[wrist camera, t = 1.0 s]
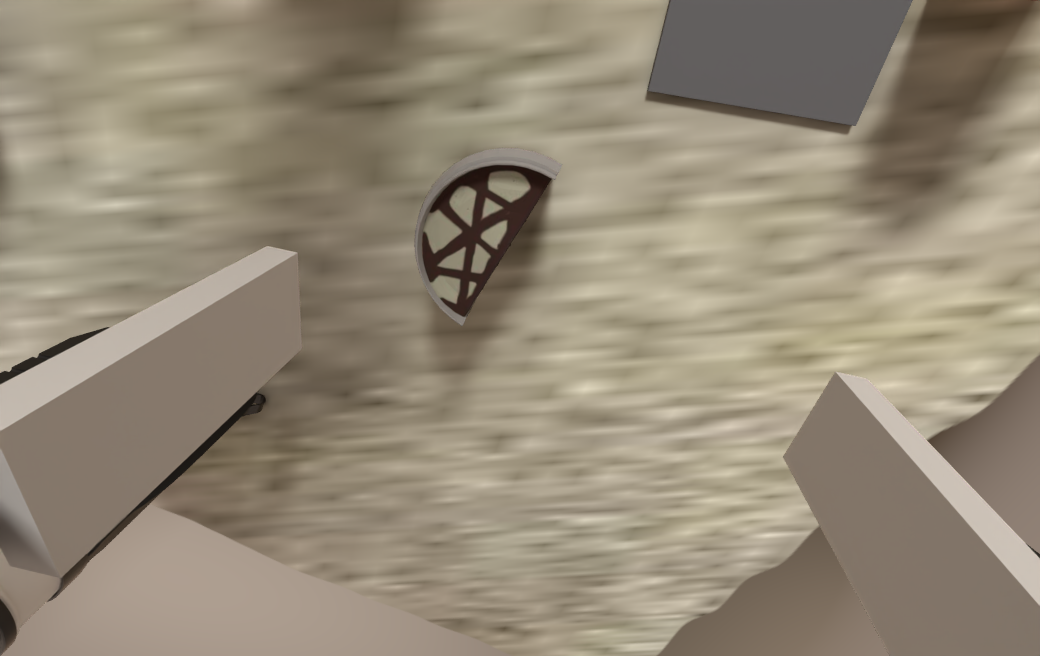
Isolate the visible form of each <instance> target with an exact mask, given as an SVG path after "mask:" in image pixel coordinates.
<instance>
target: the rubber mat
mask: <svg viewBox="0 0 1040 656" xmlns="http://www.w3.org/2000/svg"><path fill="white" fill-rule="evenodd" d="M912 1H913V0H670V2H669V6H668V10H667V14H666V18H665V22H664V26H663V30H662V34H661V38H660V42H659V46H658V50H657V54H656V58H655V62H654V66H653V70H652V74H651V78H650V82H649V86H648V90H647V91H652V92H658V93H664V94H670V95H676V96H681V97H687V98H693V99H699V100H705V101H711V102H717V103H723V104H729V105H735V106H741V107H746V108H752V109H758V110H764V111H770V112H776V113H782V114H788V115H794V116H800V117H806V118H812V119H817V120H823V121H829V122H835V123H841V124H847V125H853V126H856V124H857V122H858V120H859V117H860V115H861V113H862V111H863V109H864V106H865V104H866V102H867V100H868V98H869V95H870V93H871V91H872V89H873V87H874V84H875V82H876V80H877V78H878V76H879V73H880V71H881V69H882V67H883V65H884V62H885V60H886V58H887V56H888V54H889V51H890V49H891V47H892V45H893V43H894V40H895V38H896V36H897V34H898V32H899V29H900V27H901V25H902V23H903V20H904V18H905V16H906V14H907V12H908V9H909V7H910V5H911V3H912Z"/></svg>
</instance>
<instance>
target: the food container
mask: <svg viewBox="0 0 1040 656" xmlns="http://www.w3.org/2000/svg"><path fill="white" fill-rule="evenodd" d="M561 166H562V164H560V163H559V162H557V161H555V160H553V159H551V158H549V157H547V156H544V155H542V154H539V153H536V152H533V151H528V150H523V149H517V148H498V149H491V150H485V151H481V152H478V153H476V154H473V155H470V156H468V157H466V158H464V159H462V160H460V161H458V162H457V163H455V164H454V165H452V166H451V167H450V168H449V169H447V170H446V171H445V172H444V173H443V174H442V175H441V176H440V177H439V178H438V179H437V181H436V182H435V183H434V184H433V186H432V187H431V189H430V191H429V192H428V194H427V195H426V197H425V200H424V202H423V205H422V208H421V210H420V213H419V216H418V221H417V225H416V230H415V254H416V261H417V265H418V268H419V272H420V275H421V278H422V280H423V282H424V285H425V287H426V289H427V291H428V292H429V294H430V295H431V297H432V299H433V300H434V301H435V302H436V304H437V305H438V306H439V307H440V308H441V310H442V311H443V312H445V313H446V314H447V315H448V316H449V317H450V318H451V319H452V320H454V321H455V322H457V323H458V324H460V325H461V326H462V325H463V323H464V322H465V320H466V318H467V316H468V314H469V312H470V310H471V308H472V306H473V304H474V302H475V300H476V298H477V296H478V295H479V293H480V292H481V290H482V289H483V287H484V285H485V284H486V282H487V281H488V279H489V277H490V276H491V274H492V272H493V271H494V269H495V268H496V266H498V264H499V262H500V260H501V258H502V257H503V255H504V254H505V252H506V250H507V249H508V247H509V246H510V245H511V242H512V241H513V239H514V238H515V236H516V234H517V233H518V231H519V230H520V228H521V227H522V225H523V224H524V222H525V221H526V219H527V218H528V216H529V214H530V213H531V211H532V210H533V208H534V206H535V205H536V203H537V202H538V200H539V198H540V197H541V195H542V194H543V192H544V190H545V189H546V187H547V185H548V184H549V182H550V180H551V179H554V180H555V179H556V176H557V174H558V173H559V171H560V169H561Z"/></svg>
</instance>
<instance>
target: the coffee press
mask: <svg viewBox="0 0 1040 656" xmlns="http://www.w3.org/2000/svg"><path fill="white" fill-rule="evenodd" d="M253 403H257V404H255V405H252V404H253ZM264 403H265V397H264V396H263V395H261V394H257V392H256V393H255V394H254V395H253V396H252V397H251V398H250V399H249V400H248V401H247V402H246V403H244V404H243V405H242V406H241V407H240V408H239V409H238V410H237V411H236V412H235V413H234V414H233V415H232V416H231V417H230V418H229V419H228V420H227V421H226V422H225V423H223V424H222V425H221V426H220V427H219V428H218V429H217V430H216V431H215V432H214V433H213V434H212V435H211V436H210V437H209V438H208V439H207V440H206V441H205V442H203V443H202V444H201V445H200V446H199V447H198V448H197V449H196V450H195V451H194V452H193V453H192V454H191V455H190V456H189V457H188V458H187V459H186V460H185V461H184V462H182V463H181V464H180V465H179V466H178V467H177V468H176V469H175V470H174V471H173V472H172V473H171V474H170V475H169V476H168V477H167V478H166V479H165V480H164V481H162V482H161V483H160V484H159V485H158V486H157V487H156V488H155V489H154V490H153V491H152V492H151V493H150V494H149V495H148V496H147V497H146V498H145V499H144V500H142V501H141V502H140V503H139V504H138V505H137V506H136V507H135V508H134V509H133V510H132V511H131V512H130V513H129V514H128V515H127V516H126V517H125V518H124V519H123V520H121V521H120V522H119V523H118V524H117V525H116V526H115V527H114V528H113V529H112V530H111V531H110V532H109V533H108V534H107V535H106V536H105V537H104V538H103V539H101V540H100V541H99V542H98V543H97V544H96V545H95V546H94V547H93V548H92V549H91V550H90V551H89V552H88V553H87V554H86V555H85V556H84V557H83V558H82V559H80V560H79V561H78V562H77V563H76V564H75V565H74V566H73V567H72V568H71V569H70V570H69V571H68V572H67V573H66V574H65V575H64V576H63V577H62V578H58V577H54V576H49V575H45V574H41V573H37V572H32V571H28V570H24V569H20V568H15V567H11V566H10V565H9V563H8V561H7V560H6V558H5V556H4V554H3V552H2V550H1V548H0V655H2V654H3V652H5V651H6V650H7V648H9V647H10V646H11V645H12V644H13V642H14V641H15V639H16V636H17V635H18V633H19V630H20V628H21V626H22V625H23V624H24V623H25V622H26V621H27V620H28V619H29V618H30V617H31V616H32V615H33V614H34V613H35V612H36V611H38V610H39V608H41V607H42V606H43V605H44V604H45V603H46V602H48V601H51V600H53V599H54V598H56V597H57V596H58V595H59V594H60V593H61V592H62V591H63V590H64V589H65V588H66V587H67V586H68V585H69V584H70V583H71V582H72V581H73V580H74V579H75V578H76V577H77V576H78V575H79V574H80V573H81V572H82V570H83V569H84V568H85V566H86V564H87V563H88V562H89V561H90V560H91V559H92V558H93V557H94V556H95V555H96V554H98V553H99V552H100V551H101V550H103V549H104V548H105V547H106V546H107V545H108V544H109V543H110V542H111V541H112V540H113V539H114V538H115V537H116V536H117V535H118V534H119V533H120V532H121V531H122V530H123V529H124V528H125V527H126V526H127V525H128V524H129V523H130V522H131V521H132V520H133V519H134V518H136V517H137V516H138V514H140V513H141V512H142V511H143V510H144V509H145V508H146V507H147V506H148V505H149V504H150V503H151V502H152V501H153V500H154V499H155V498H156V497H157V496H158V495H159V494H160V493H161V492H162V491H163V490H165V489H166V488H167V487H168V486H169V485H170V484H172V483H173V482H174V481H175V480H176V479H177V478H178V477H180V476H181V475H182V474H183V473H184V472H185V471H186V470H187V469H188V468H189V467H190V466H191V465H192V464H193V463H194V462H195V461H196V460H198V459H199V458H200V457H201V456H202V455H203V454H204V453H205V452H206V451H207V450H208V449H209V448H210V447H211V446H212V445H213V444H214V443H215V442H216V441H217V440H218V439H219V438H220V437H221V436H222V435H223V434H224V433H225V432H226V431H227V430H228V429H229V428H230V427H231V426H232V425H233V424H234V423H235V422H236V421H237V420H238V419H239V418H240V417H242V416H245V415H249V414H254V413H258V412H260V411H261V410H262V408H263V405H264Z"/></svg>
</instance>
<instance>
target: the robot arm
mask: <svg viewBox="0 0 1040 656" xmlns="http://www.w3.org/2000/svg"><path fill="white" fill-rule="evenodd" d="M301 349H302V337H301V314H300V291H299V269H298V253H297V252H292V251H288V250H283V249H279V248H274V247H270V246H266V247H264V248H262V249H260V250H258V251H256V252H254V253H252V254H251V255H249V256H247V257H245V258H243V259H241V260H239V261H237V262H235V263H233V264H231V265H229V266H227V267H225V268H224V269H222V270H220V271H218V272H216V273H214V274H212V275H210V276H208V277H206V278H204V279H202V280H200V281H199V282H197V283H195V284H193V285H191V286H189V287H187V288H185V289H183V290H181V291H179V292H177V293H175V294H174V295H172V296H170V297H168V298H166V299H164V300H162V301H160V302H158V303H156V304H154V305H152V306H150V307H149V308H147V309H145V310H143V311H141V312H139V313H137V314H135V315H133V316H131V317H129V318H127V319H125V320H123V321H122V322H120V323H118V324H116V325H114V326H112V327H110V328H109V327H106V328H103V329H100V330H96V331H93V332H89V333H86V334H82V335H79V336H76V337H72V338H69V339H67V340H65V341H63V342H61V343H59V344H57V345H55V346H53V347H51V348H49V349H47V350H45V351H43V352H41V353H39V356H38V357H37V358H34V357H31V358H29V359H27V360H25V361H23V362H21V363H19V364H17V365H15V366H13V367H12V369H11V371H10V372H7V371H3V372H1V373H0V548H1V550H2V552H3V554H4V556H5V558H6V560H7V561H8V563H9V565H10V566H11V567H15V568H20V569H24V570H28V571H32V572H37V573H41V574H45V575H49V576H54V577H58V578H62V577H63V576H64V575H65V574H66V573H67V572H68V571H69V570H70V569H71V568H72V567H73V566H74V565H75V564H76V563H77V562H78V561H79V560H80V559H82V558H83V557H84V556H85V555H86V554H87V553H88V552H89V551H90V550H91V549H92V548H93V547H94V546H95V545H96V544H97V543H98V542H99V541H100V540H101V539H103V538H104V537H105V536H106V535H107V534H108V533H109V532H110V531H111V530H112V529H113V528H114V527H115V526H116V525H117V524H118V523H119V522H120V521H121V520H123V519H124V518H125V517H126V516H127V515H128V514H129V513H130V512H131V511H132V510H133V509H134V508H135V507H136V506H137V505H138V504H139V503H140V502H141V501H142V500H144V499H145V498H146V497H147V496H148V495H149V494H150V493H151V492H152V491H153V490H154V489H155V488H156V487H157V486H158V485H159V484H160V483H161V482H162V481H164V480H165V479H166V478H167V477H168V476H169V475H170V474H171V473H172V472H173V471H174V470H175V469H176V468H177V467H178V466H179V465H180V464H181V463H182V462H184V461H185V460H186V459H187V458H188V457H189V456H190V455H191V454H192V453H193V452H194V451H195V450H196V449H197V448H198V447H199V446H200V445H201V444H202V443H203V442H205V441H206V440H207V439H208V438H209V437H210V436H211V435H212V434H213V433H214V432H215V431H216V430H217V429H218V428H219V427H220V426H221V425H222V424H223V423H225V422H226V421H227V420H228V419H229V418H230V417H231V416H232V415H233V414H234V413H235V412H236V411H237V410H238V409H239V408H240V407H241V406H242V405H243V404H244V403H246V402H247V401H248V400H249V399H250V398H251V397H252V396H253V395H254V394H255V393H256V392H257V391H258V390H259V389H260V388H261V387H262V386H263V385H264V384H266V383H267V382H268V381H269V380H270V379H271V378H272V377H273V376H274V375H275V374H276V373H277V372H278V371H279V370H280V369H281V368H282V367H283V366H284V365H286V364H287V363H288V362H289V361H290V360H291V359H292V358H293V357H294V356H295V355H296V354H297V353H298V352H299V351H300V350H301ZM783 458H784V460H785V461H786V463H787V465H788V467H789V469H790V471H791V473H792V475H793V476H794V478H795V480H796V482H797V484H798V486H799V488H800V490H801V491H802V493H803V495H804V497H805V499H806V501H807V503H808V505H809V506H810V508H811V510H812V512H813V514H814V516H815V518H816V519H817V521H818V523H819V525H820V527H821V529H822V531H823V533H824V534H825V536H826V538H827V540H828V542H829V544H830V546H831V547H832V549H833V551H834V553H835V555H836V557H837V559H838V560H839V562H840V564H841V566H842V568H843V570H844V572H845V574H846V575H847V577H848V579H849V581H850V583H851V585H852V587H853V589H854V591H855V592H856V594H857V596H858V598H859V600H860V602H861V604H862V606H863V607H864V609H865V611H866V613H867V615H868V617H869V618H870V620H871V622H872V624H873V626H874V628H875V630H876V632H877V634H878V636H879V637H880V639H881V641H882V643H883V645H884V647H885V649H886V650H887V652H888V654H889V656H1040V554H1039V553H1038V552H1036V551H1035V550H1034V549H1032V548H1031V547H1030V546H1029V545H1027V544H1026V543H1025V542H1024V541H1023V540H1022V539H1021V538H1020V537H1019V536H1018V535H1017V534H1016V533H1015V532H1014V531H1013V530H1012V529H1011V528H1010V527H1009V526H1008V525H1007V524H1006V523H1005V522H1004V521H1003V520H1002V518H1001V517H1000V516H998V514H997V513H996V512H995V511H994V510H993V509H992V508H991V507H990V506H989V505H988V504H987V503H986V502H985V501H984V500H983V499H982V498H981V497H980V496H979V495H978V494H977V492H975V490H973V488H972V487H971V486H970V485H969V484H968V483H967V482H966V481H965V480H964V479H963V478H962V477H961V476H960V475H959V474H958V473H957V472H956V471H955V470H954V468H953V467H952V466H950V464H949V463H948V462H947V461H946V460H945V459H944V458H943V457H942V456H941V455H940V454H939V453H938V452H937V451H936V450H935V449H934V448H933V447H932V446H931V445H930V443H929V442H928V441H927V440H926V439H925V438H924V437H923V436H922V435H921V434H920V433H919V432H918V431H917V430H916V429H915V428H914V427H913V426H912V425H911V424H910V423H909V422H908V421H907V419H906V418H905V417H904V416H903V415H902V414H901V413H900V412H899V411H898V410H897V409H896V408H895V407H894V406H893V405H892V404H891V403H890V402H889V401H888V400H887V399H886V398H885V397H884V396H883V394H882V393H881V392H880V391H879V390H878V389H877V388H876V387H875V386H874V385H873V384H872V383H871V382H870V381H869V380H868V379H866V378H862V377H857V376H853V375H848V374H844V373H839V372H835V373H834V375H833V376H832V378H831V380H830V381H829V383H828V385H827V386H826V388H825V389H824V391H823V393H822V394H821V396H820V398H819V399H818V401H817V402H816V404H815V406H814V407H813V409H812V411H811V412H810V414H809V415H808V417H807V419H806V420H805V422H804V424H803V425H802V427H801V428H800V430H799V432H798V433H797V435H796V437H795V438H794V440H793V441H792V443H791V445H790V446H789V448H788V450H787V451H786V453H785V454H784V456H783Z"/></svg>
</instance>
